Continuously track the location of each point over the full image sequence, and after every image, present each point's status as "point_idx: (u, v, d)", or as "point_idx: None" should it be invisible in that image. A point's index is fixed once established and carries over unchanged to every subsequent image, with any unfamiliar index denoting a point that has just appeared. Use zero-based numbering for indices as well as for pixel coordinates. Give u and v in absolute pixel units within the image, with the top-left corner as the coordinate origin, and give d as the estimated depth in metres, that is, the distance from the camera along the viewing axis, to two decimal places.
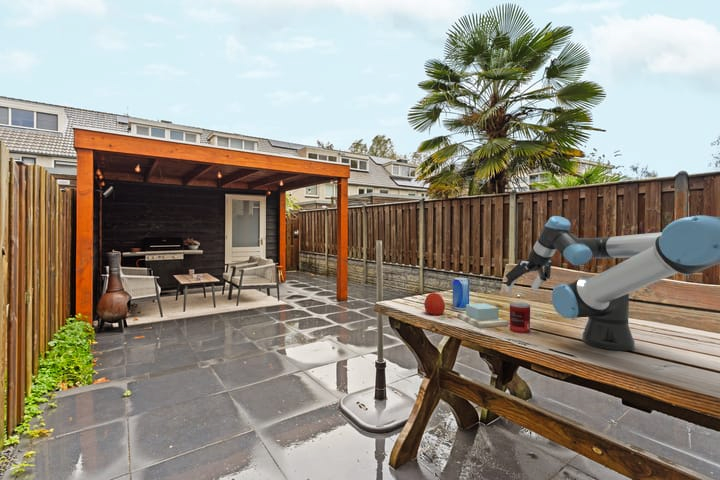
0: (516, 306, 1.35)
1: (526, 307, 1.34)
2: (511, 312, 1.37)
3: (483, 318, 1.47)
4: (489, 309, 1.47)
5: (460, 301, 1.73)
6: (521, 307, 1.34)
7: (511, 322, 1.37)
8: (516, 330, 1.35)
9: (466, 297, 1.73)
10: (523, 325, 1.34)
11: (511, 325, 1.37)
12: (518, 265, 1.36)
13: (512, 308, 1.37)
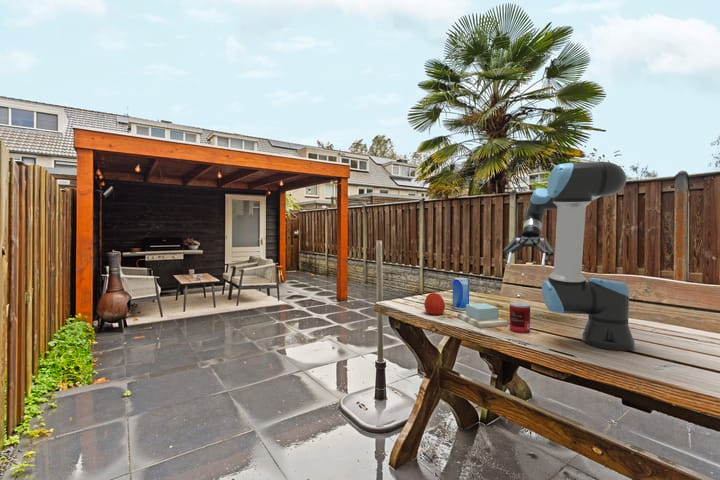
0: (516, 306, 1.35)
1: (526, 307, 1.34)
2: (511, 312, 1.37)
3: (483, 318, 1.47)
4: (489, 309, 1.47)
5: (460, 301, 1.73)
6: (521, 307, 1.34)
7: (511, 322, 1.37)
8: (516, 330, 1.35)
9: (466, 297, 1.73)
10: (523, 325, 1.34)
11: (511, 325, 1.37)
12: None
13: (512, 308, 1.37)
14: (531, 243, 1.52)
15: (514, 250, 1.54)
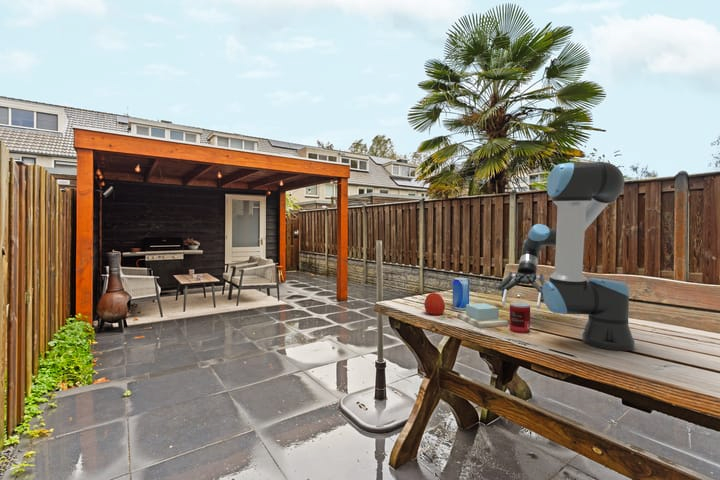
0: (516, 306, 1.35)
1: (526, 307, 1.34)
2: (511, 312, 1.37)
3: (483, 318, 1.47)
4: (489, 309, 1.47)
5: (460, 301, 1.73)
6: (521, 307, 1.34)
7: (511, 322, 1.37)
8: (516, 330, 1.35)
9: (466, 297, 1.73)
10: (523, 325, 1.34)
11: (511, 325, 1.37)
12: None
13: (512, 308, 1.37)
14: (527, 280, 1.48)
15: (509, 287, 1.50)
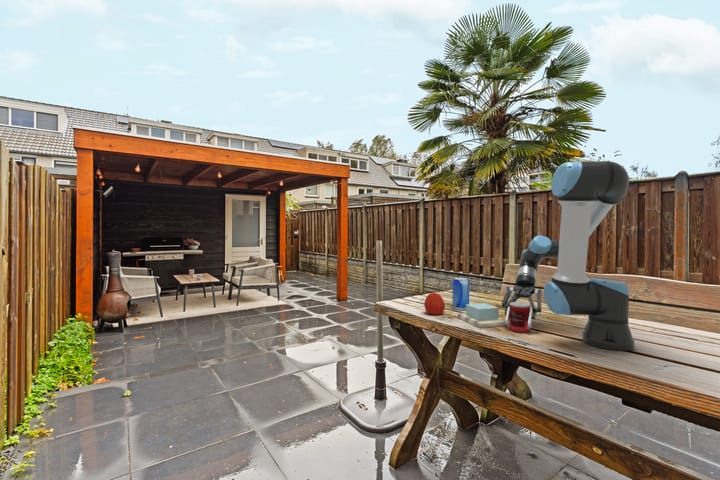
0: (516, 306, 1.35)
1: (526, 307, 1.34)
2: (511, 312, 1.37)
3: (483, 318, 1.47)
4: (489, 309, 1.47)
5: (460, 301, 1.73)
6: (521, 307, 1.34)
7: (511, 322, 1.37)
8: (516, 330, 1.35)
9: (466, 297, 1.73)
10: (523, 325, 1.34)
11: (511, 325, 1.37)
12: None
13: (512, 308, 1.37)
14: (525, 294, 1.42)
15: None
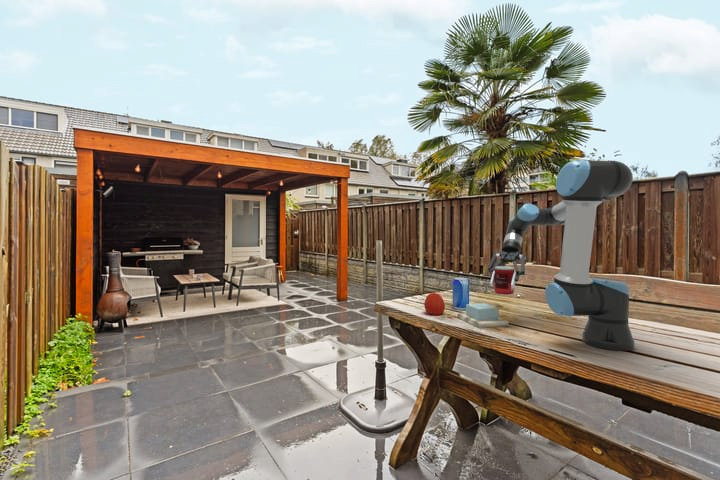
0: (500, 269, 1.42)
1: (510, 270, 1.41)
2: (496, 275, 1.44)
3: (483, 318, 1.47)
4: (489, 309, 1.47)
5: (460, 301, 1.73)
6: (505, 270, 1.41)
7: (496, 284, 1.44)
8: (500, 292, 1.42)
9: (466, 297, 1.73)
10: (506, 287, 1.41)
11: (496, 288, 1.44)
12: None
13: (497, 271, 1.43)
14: (510, 258, 1.48)
15: None
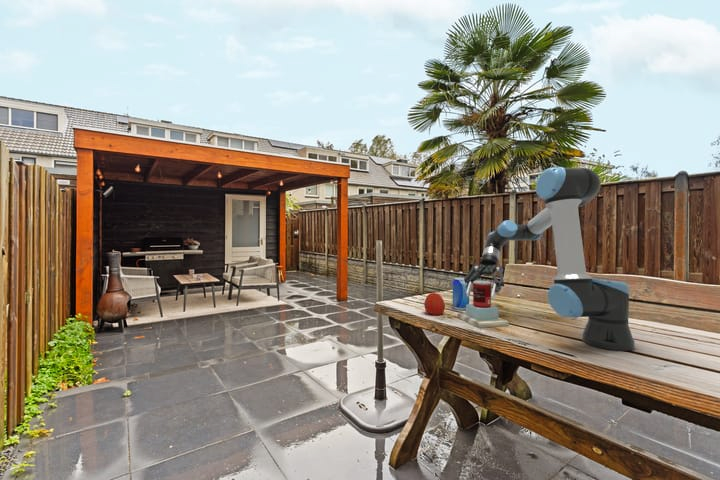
0: (478, 283, 1.49)
1: (487, 284, 1.48)
2: (474, 289, 1.51)
3: (483, 318, 1.47)
4: (489, 309, 1.47)
5: (460, 301, 1.73)
6: (482, 284, 1.48)
7: (474, 298, 1.51)
8: (478, 305, 1.49)
9: (466, 297, 1.73)
10: (484, 301, 1.48)
11: (474, 301, 1.51)
12: None
13: (475, 286, 1.50)
14: (488, 271, 1.56)
15: (474, 279, 1.57)
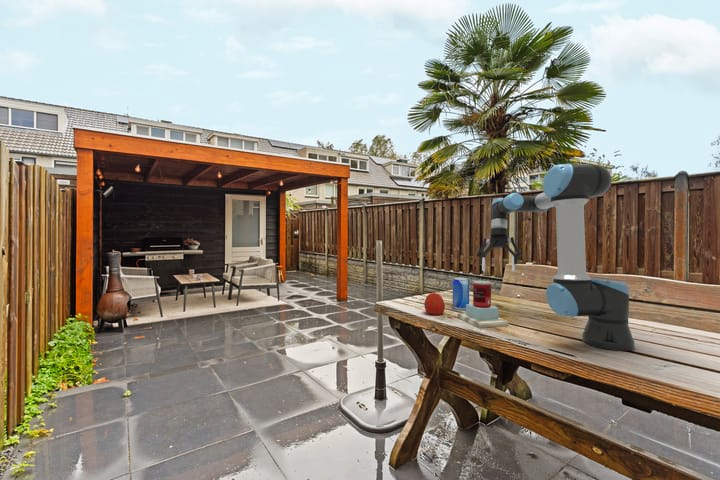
0: (478, 283, 1.49)
1: (487, 284, 1.48)
2: (474, 289, 1.51)
3: (483, 318, 1.47)
4: (489, 309, 1.47)
5: (460, 301, 1.73)
6: (482, 284, 1.48)
7: (474, 298, 1.51)
8: (478, 305, 1.49)
9: (466, 297, 1.73)
10: (484, 301, 1.48)
11: (474, 301, 1.51)
12: None
13: (475, 286, 1.50)
14: (500, 245, 1.63)
15: (486, 253, 1.67)
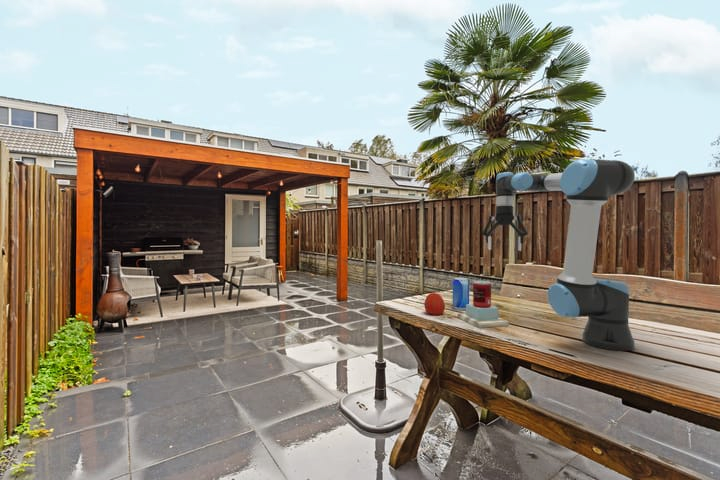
0: (478, 283, 1.49)
1: (487, 284, 1.48)
2: (474, 289, 1.51)
3: (483, 318, 1.47)
4: (489, 309, 1.47)
5: (460, 301, 1.73)
6: (482, 284, 1.48)
7: (474, 298, 1.51)
8: (478, 305, 1.49)
9: (466, 297, 1.73)
10: (484, 301, 1.48)
11: (474, 301, 1.51)
12: None
13: (475, 286, 1.50)
14: (506, 224, 1.59)
15: (492, 231, 1.64)
